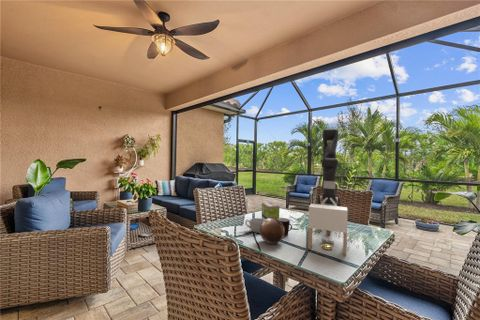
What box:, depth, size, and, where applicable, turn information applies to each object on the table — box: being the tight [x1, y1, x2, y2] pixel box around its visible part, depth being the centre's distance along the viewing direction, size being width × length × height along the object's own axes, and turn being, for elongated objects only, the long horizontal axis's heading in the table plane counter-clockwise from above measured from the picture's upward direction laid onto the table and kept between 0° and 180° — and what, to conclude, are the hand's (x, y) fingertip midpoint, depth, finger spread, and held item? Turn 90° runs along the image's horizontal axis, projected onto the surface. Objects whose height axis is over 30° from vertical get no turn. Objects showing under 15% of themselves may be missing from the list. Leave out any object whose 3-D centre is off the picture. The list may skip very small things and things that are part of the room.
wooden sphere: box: [259, 218, 285, 245], centre depth 138 cm, size 15×15×15 cm
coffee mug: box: [278, 217, 293, 237], centre depth 153 cm, size 12×9×10 cm
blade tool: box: [321, 230, 335, 246], centre depth 149 cm, size 22×7×6 cm, turn 157°
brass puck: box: [321, 243, 334, 251], centre depth 132 cm, size 6×6×2 cm
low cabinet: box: [307, 203, 348, 256], centre depth 131 cm, size 10×20×24 cm, turn 67°
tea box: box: [261, 201, 280, 220], centre depth 184 cm, size 15×10×15 cm
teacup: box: [244, 217, 264, 234], centre depth 160 cm, size 14×11×8 cm
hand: (328, 211), depth 155 cm, fingers open, 8 cm apart
